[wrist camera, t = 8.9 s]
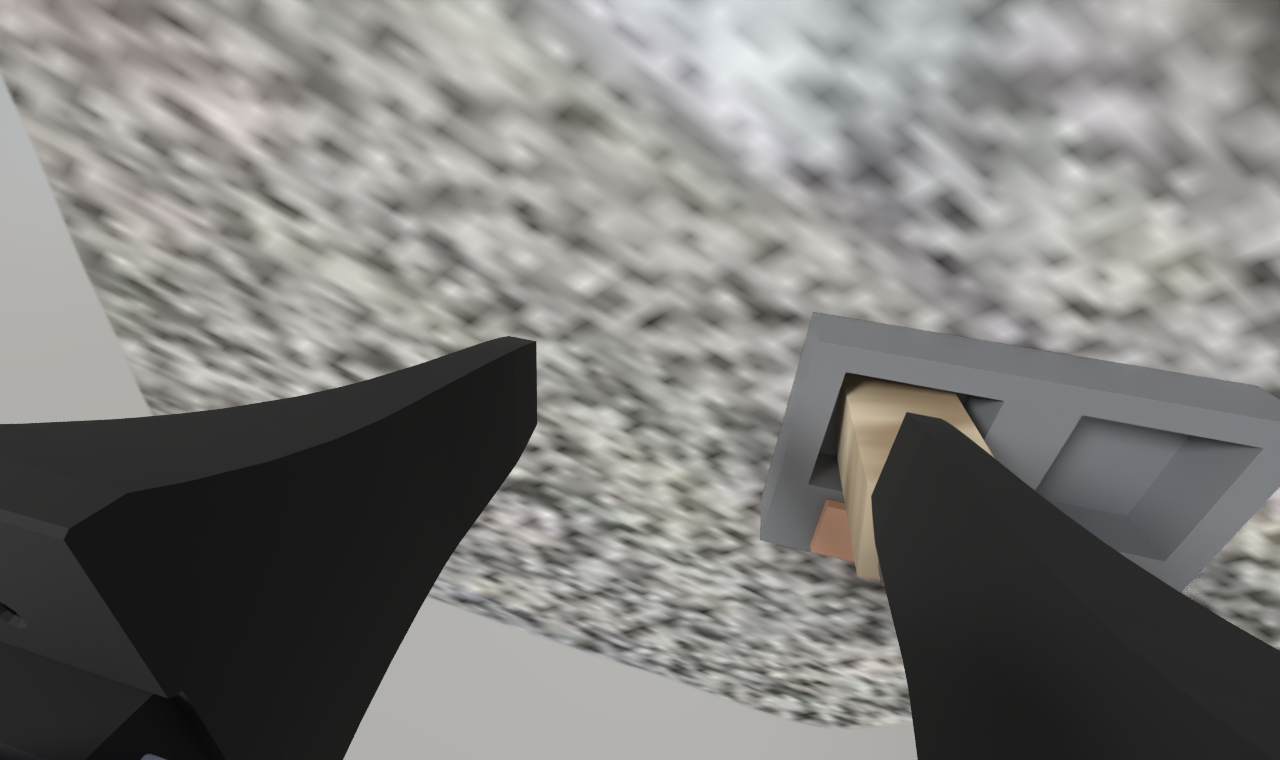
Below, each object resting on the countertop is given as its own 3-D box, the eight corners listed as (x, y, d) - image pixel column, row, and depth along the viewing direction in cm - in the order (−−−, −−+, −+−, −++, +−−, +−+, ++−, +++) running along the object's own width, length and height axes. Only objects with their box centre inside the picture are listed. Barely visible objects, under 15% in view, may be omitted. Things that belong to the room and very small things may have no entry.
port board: (1257, 386, 17) (1345, 438, 14) (1105, 574, 21) (1151, 640, 18) (813, 312, 19) (819, 346, 16) (761, 497, 23) (759, 547, 21)
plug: (943, 373, 18) (1028, 513, 12) (929, 451, 20) (998, 611, 14) (841, 373, 19) (872, 503, 13) (835, 448, 21) (860, 596, 15)
